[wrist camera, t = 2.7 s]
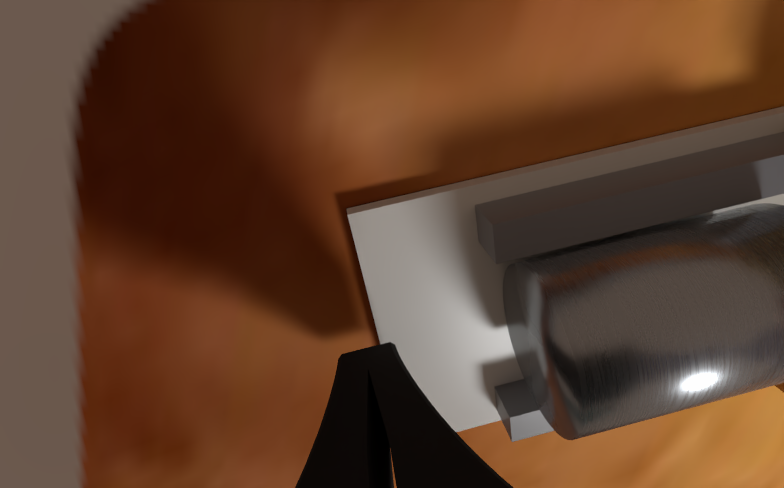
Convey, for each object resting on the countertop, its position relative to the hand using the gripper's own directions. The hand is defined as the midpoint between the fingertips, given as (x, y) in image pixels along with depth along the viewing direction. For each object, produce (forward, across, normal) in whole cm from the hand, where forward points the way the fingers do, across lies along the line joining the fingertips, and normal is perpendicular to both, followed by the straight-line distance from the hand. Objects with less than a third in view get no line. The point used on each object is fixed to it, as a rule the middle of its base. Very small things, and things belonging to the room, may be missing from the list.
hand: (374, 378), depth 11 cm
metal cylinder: (+1, -7, 0) cm, 7 cm away
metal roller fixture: (+2, -10, 0) cm, 10 cm away
